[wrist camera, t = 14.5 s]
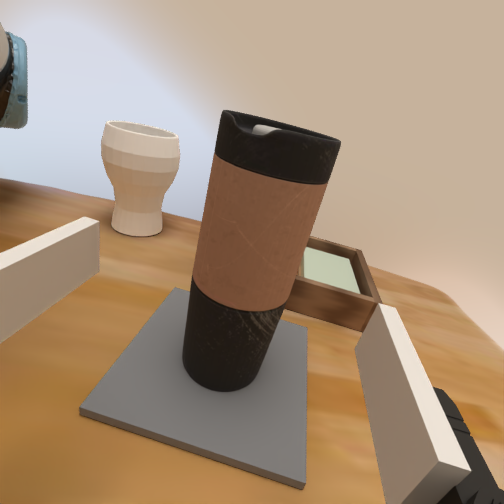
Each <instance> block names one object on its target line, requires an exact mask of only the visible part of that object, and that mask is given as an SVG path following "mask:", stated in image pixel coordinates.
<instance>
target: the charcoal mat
mask: <svg viewBox="0 0 504 504" xmlns="http://www.w3.org/2000/svg"><path fill="white" fill-rule="evenodd" d="M189 296H190V292H189V291H186V290H182V289H179V288H176V287H175V288H174V289H173V290H172V291H171V293H170V294H169V295H168V296H167V298H166V299H165V300H164V301H163V303H162V304H161V305H160V306H159V308H158V309H157V310H156V311H155V313H154V314H153V315H152V317H151V318H150V319H149V320H148V322H147V323H146V324H145V325H144V327H143V328H142V329H141V330H140V332H139V333H138V334H137V335H136V337H135V338H134V339H133V340H132V342H131V343H130V344H129V345H128V347H127V348H126V349H125V350H124V352H123V353H122V354H121V355H120V357H119V358H118V359H117V360H116V362H115V363H114V364H113V365H112V367H111V368H110V369H109V370H108V372H107V373H106V374H105V375H104V377H103V378H102V379H101V380H100V382H99V383H98V384H97V385H96V387H95V388H94V389H93V390H92V392H91V393H90V394H89V395H88V397H87V398H86V399H85V401H84V402H83V403H82V404H81V406H80V407H79V411H80V415H83V416H86V417H89V418H92V419H95V420H98V421H101V422H104V423H107V424H109V425H112V426H115V427H118V428H121V429H124V430H127V431H130V432H133V433H136V434H139V435H142V436H145V437H148V438H151V439H154V440H157V441H160V442H163V443H166V444H169V445H171V446H174V447H177V448H180V449H183V450H186V451H189V452H192V453H195V454H198V455H201V456H204V457H207V458H210V459H213V460H216V461H219V462H222V463H225V464H228V465H230V466H233V467H236V468H239V469H242V470H245V471H248V472H251V473H254V474H257V475H260V476H263V477H266V478H269V479H272V480H275V481H278V482H281V483H284V484H287V485H289V486H292V487H295V488H298V489H301V490H303V488H304V486H305V484H306V428H307V327H303V326H300V325H297V324H294V323H290V322H287V321H284V320H281V319H280V320H279V323H278V325H277V328H276V330H275V333H274V335H273V338H272V340H271V343H270V345H269V348H268V350H267V353H266V355H265V358H264V360H263V363H262V365H261V367H260V370H259V372H258V374H257V376H256V377H255V379H254V380H253V381H252V382H251V383H250V384H249V385H248V386H246V387H244V388H242V389H240V390H236V391H231V392H219V391H214V390H210V389H207V388H205V387H203V386H201V385H200V384H198V383H197V382H195V381H194V380H193V379H192V378H191V377H190V376H189V374H188V373H187V371H186V369H185V367H184V364H183V359H182V352H183V342H184V335H185V327H186V319H187V312H188V304H189Z"/></svg>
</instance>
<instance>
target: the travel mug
mask: <svg viewBox="0 0 504 504" xmlns="http://www.w3.org/2000/svg"><path fill="white" fill-rule="evenodd" d="M340 145H341V141H340V140H338V139H335V138H333V137H330V136H327V135H323V134H320V133H317V132H314V131H310V130H307V129H303V128H300V127H296V126H293V125H289V124H285V123H281V122H277V121H274V120H270V119H266V118H262V117H258V116H253V115H249V114H244V113H240V112H235V111H229V110H223V112H222V114H221V119H220V124H219V129H218V135H217V141H216V147H215V153H214V157H213V163H212V168H211V174H210V179H209V185H208V190H207V196H206V202H205V207H204V212H203V218H202V223H201V229H200V234H199V240H198V246H197V251H196V257H195V262H194V268H193V275H192V281H191V289H190V296H189V304H188V312H187V319H186V327H185V335H184V342H183V352H182V359H183V364H184V367H185V369H186V371H187V373H188V374H189V376H190V377H191V378H192V379H193V380H194V381H195V382H197V383H198V384H200V385H201V386H203V387H205V388H207V389H210V390H214V391H219V392H231V391H236V390H240V389H242V388H244V387H246V386H248V385H249V384H250V383H251V382H252V381H253V380H254V379H255V377H256V376H257V374H258V372H259V370H260V367H261V365H262V363H263V360H264V358H265V355H266V353H267V350H268V348H269V345H270V343H271V340H272V338H273V335H274V333H275V330H276V328H277V325H278V323H279V320H280V318H281V315H282V313H283V310H284V308H285V305H286V302H287V300H288V297H289V295H290V292H291V289H292V286H293V283H294V280H295V277H296V274H297V272H298V269H299V266H300V263H301V260H302V257H303V254H304V251H305V248H306V245H307V242H308V239H309V237H310V234H311V231H312V228H313V224H314V222H315V219H316V216H317V213H318V210H319V207H320V204H321V202H322V199H323V196H324V193H325V190H326V187H327V184H328V180H329V178H330V175H331V172H332V170H333V167H334V164H335V161H336V158H337V155H338V152H339V149H340Z"/></svg>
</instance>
